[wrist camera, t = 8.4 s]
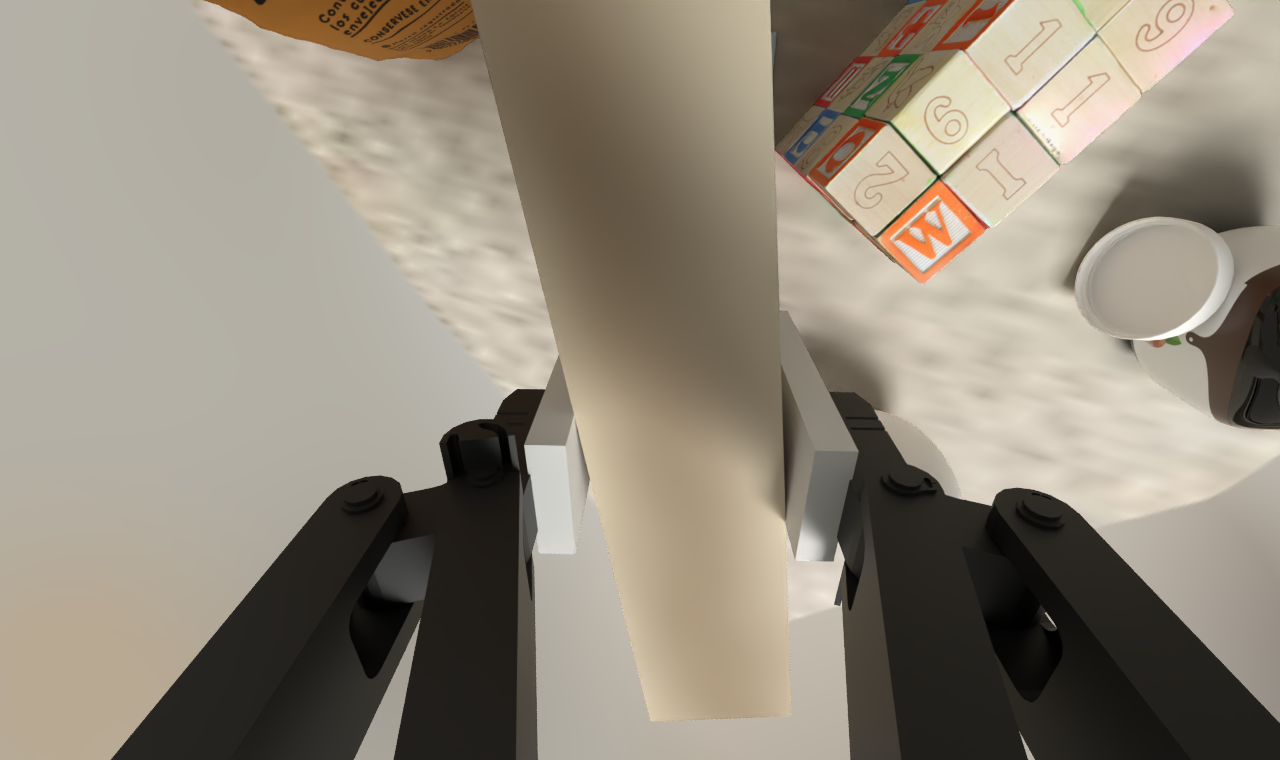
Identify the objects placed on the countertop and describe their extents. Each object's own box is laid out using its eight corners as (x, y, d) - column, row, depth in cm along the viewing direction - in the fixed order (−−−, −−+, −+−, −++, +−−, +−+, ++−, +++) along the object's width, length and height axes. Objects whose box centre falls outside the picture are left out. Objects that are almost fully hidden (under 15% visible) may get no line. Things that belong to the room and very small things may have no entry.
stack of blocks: (1140, -266, 23) (1544, -559, 12) (1210, -142, 25) (1619, -305, 14) (770, 150, 32) (822, 189, 21) (842, 221, 34) (923, 290, 23)
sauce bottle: (789, 464, 43) (858, 693, 27) (813, 377, 39) (910, 584, 23) (889, 474, 43) (1017, 708, 27) (923, 388, 39) (1095, 601, 23)
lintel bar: (722, -34, 12) (766, -115, 7) (759, 552, 21) (791, 715, 15) (546, 0, 12) (458, -51, 7) (654, 560, 21) (650, 721, 16)
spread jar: (1237, 352, 36) (1456, 460, 26) (1051, 386, 38) (1189, 499, 28) (1289, 167, 31) (1593, 213, 21) (1070, 217, 33) (1249, 282, 23)
